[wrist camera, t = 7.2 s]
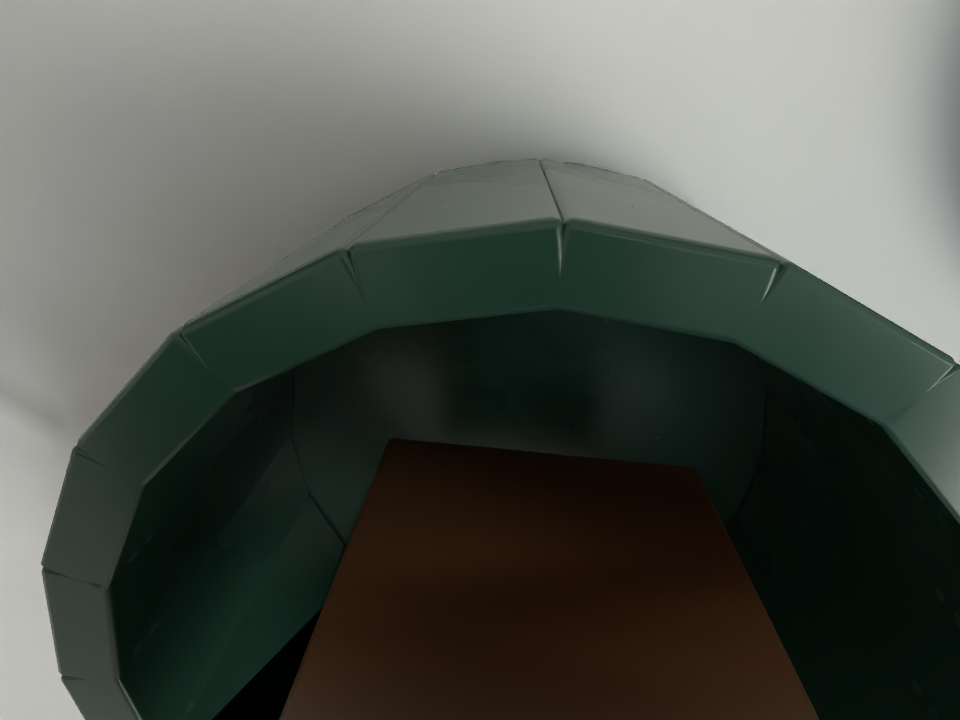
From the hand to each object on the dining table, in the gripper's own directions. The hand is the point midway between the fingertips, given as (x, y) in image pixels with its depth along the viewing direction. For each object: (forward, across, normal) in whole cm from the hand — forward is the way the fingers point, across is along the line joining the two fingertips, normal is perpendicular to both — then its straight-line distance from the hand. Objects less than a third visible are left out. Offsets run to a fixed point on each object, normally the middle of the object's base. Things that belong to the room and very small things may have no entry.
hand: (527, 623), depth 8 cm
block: (+1, 0, 0) cm, 1 cm away
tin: (+5, 0, 0) cm, 5 cm away
